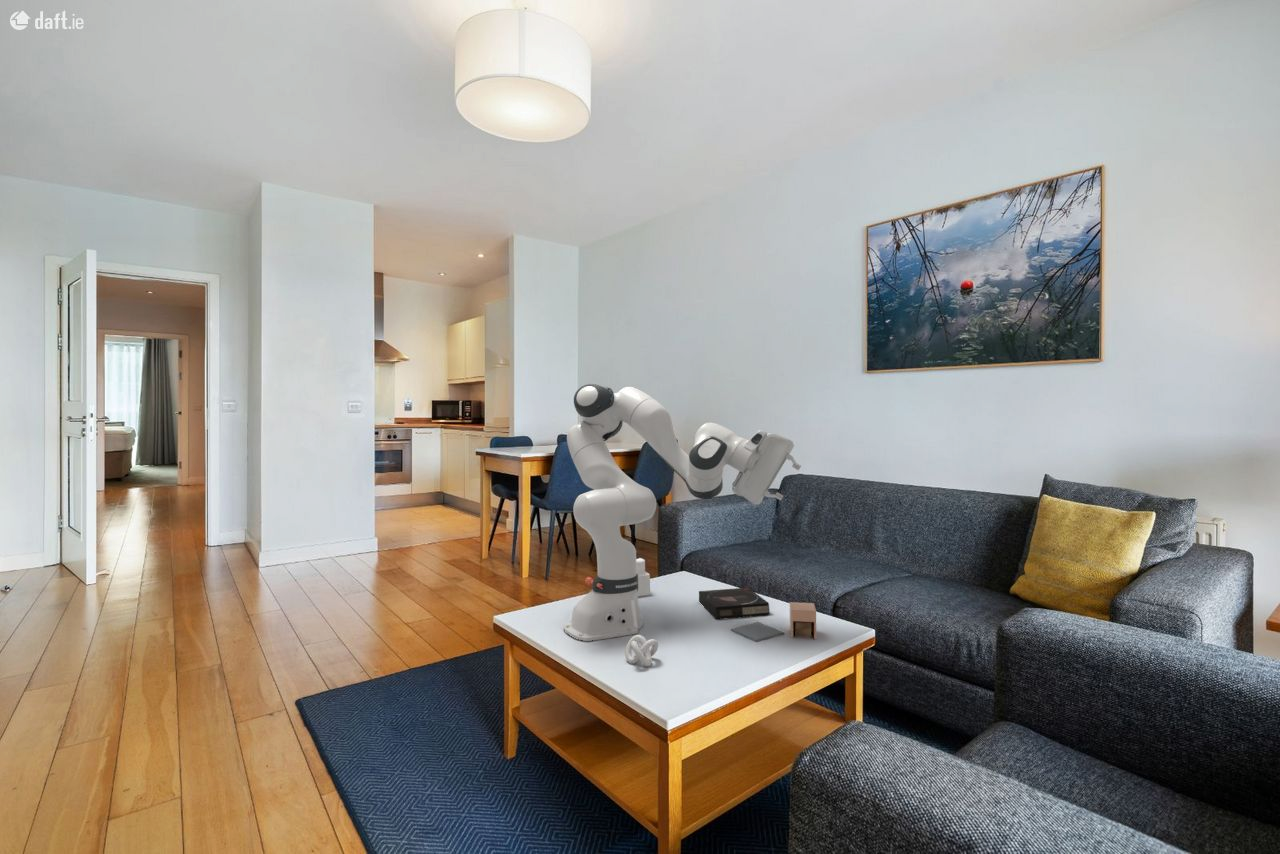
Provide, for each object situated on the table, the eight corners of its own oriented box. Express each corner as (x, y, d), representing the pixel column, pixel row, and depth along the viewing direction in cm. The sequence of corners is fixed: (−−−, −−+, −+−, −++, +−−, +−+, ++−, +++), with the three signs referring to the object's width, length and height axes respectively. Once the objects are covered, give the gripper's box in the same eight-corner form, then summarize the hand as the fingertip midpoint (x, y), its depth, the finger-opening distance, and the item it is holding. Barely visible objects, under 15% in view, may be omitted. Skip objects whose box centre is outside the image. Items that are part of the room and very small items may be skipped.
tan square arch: (791, 637, 160) (791, 609, 160) (789, 629, 167) (789, 602, 166) (816, 639, 159) (816, 610, 159) (814, 630, 165) (813, 603, 165)
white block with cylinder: (622, 592, 204) (622, 556, 204) (642, 589, 207) (641, 554, 206) (630, 598, 197) (629, 561, 197) (650, 595, 200) (650, 559, 200)
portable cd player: (716, 621, 175) (716, 607, 175) (699, 603, 192) (698, 591, 192) (769, 617, 178) (769, 603, 178) (748, 599, 195) (748, 587, 195)
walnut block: (795, 636, 161) (795, 622, 161) (794, 631, 165) (794, 617, 165) (811, 637, 161) (811, 622, 160) (809, 632, 164) (809, 617, 164)
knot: (649, 653, 152) (649, 630, 151) (665, 665, 144) (665, 640, 144) (622, 659, 148) (622, 635, 148) (637, 671, 141) (636, 646, 141)
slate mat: (756, 641, 158) (756, 639, 158) (730, 630, 166) (730, 628, 166) (783, 633, 163) (783, 632, 163) (757, 623, 172) (757, 621, 172)
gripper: (725, 488, 168) (768, 515, 162) (763, 424, 167) (807, 449, 161) (732, 490, 174) (773, 516, 167) (768, 429, 172) (811, 452, 166)
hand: (790, 482), depth 164 cm, fingers open, 8 cm apart
